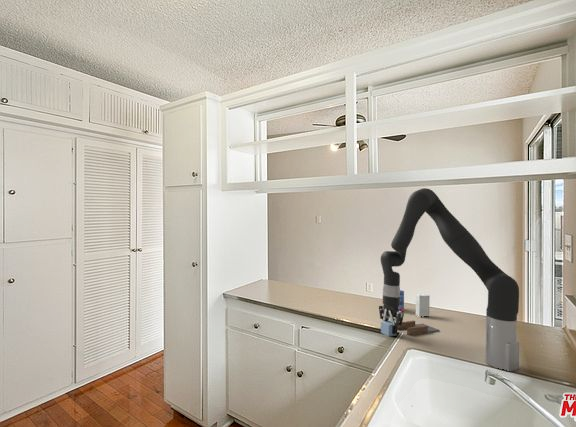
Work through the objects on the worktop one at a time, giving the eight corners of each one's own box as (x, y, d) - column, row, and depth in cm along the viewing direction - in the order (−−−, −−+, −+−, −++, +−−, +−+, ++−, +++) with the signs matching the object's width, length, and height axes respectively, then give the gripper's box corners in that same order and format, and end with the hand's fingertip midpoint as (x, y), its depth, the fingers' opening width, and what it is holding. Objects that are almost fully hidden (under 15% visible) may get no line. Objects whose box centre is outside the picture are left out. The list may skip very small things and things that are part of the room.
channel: (427, 332, 146) (427, 325, 146) (408, 335, 141) (408, 328, 141) (413, 326, 153) (413, 320, 153) (395, 329, 148) (395, 322, 148)
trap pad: (439, 331, 148) (439, 330, 148) (430, 332, 145) (430, 331, 145) (422, 324, 157) (422, 323, 157) (413, 325, 154) (413, 324, 154)
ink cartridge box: (384, 308, 186) (385, 284, 187) (391, 307, 189) (392, 283, 189) (397, 312, 177) (397, 287, 178) (404, 311, 180) (404, 286, 180)
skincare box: (425, 315, 174) (425, 293, 175) (429, 317, 170) (430, 295, 170) (414, 315, 174) (415, 293, 174) (419, 317, 169) (419, 295, 170)
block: (397, 335, 140) (397, 324, 140) (388, 336, 138) (388, 325, 138) (389, 331, 145) (389, 320, 145) (380, 332, 143) (381, 321, 143)
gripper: (374, 291, 147) (373, 327, 147) (396, 298, 134) (395, 338, 134) (386, 290, 150) (385, 326, 150) (409, 297, 137) (408, 336, 137)
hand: (390, 331), depth 142 cm, fingers closed on block, 5 cm apart
